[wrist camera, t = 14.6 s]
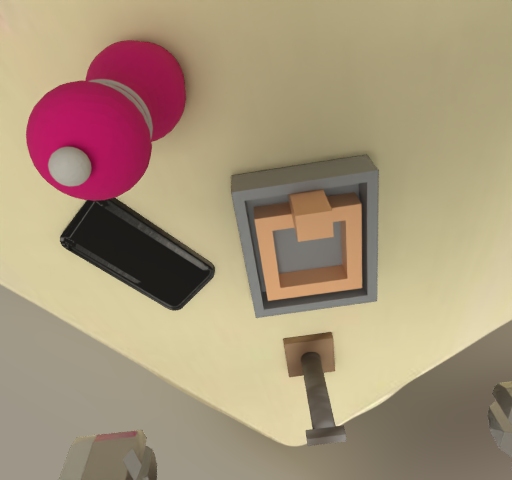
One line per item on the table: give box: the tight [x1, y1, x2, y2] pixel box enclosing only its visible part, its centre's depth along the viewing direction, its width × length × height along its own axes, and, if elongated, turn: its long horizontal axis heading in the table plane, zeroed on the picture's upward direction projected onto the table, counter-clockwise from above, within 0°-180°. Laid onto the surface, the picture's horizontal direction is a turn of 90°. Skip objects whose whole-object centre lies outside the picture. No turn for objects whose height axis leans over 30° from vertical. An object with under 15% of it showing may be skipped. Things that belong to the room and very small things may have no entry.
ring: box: [254, 189, 362, 301], centre depth 39 cm, size 10×12×7 cm
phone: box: [60, 198, 215, 310], centre depth 44 cm, size 8×1×15 cm
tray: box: [231, 155, 379, 318], centre depth 42 cm, size 13×15×4 cm
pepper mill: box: [26, 41, 186, 201], centre depth 26 cm, size 7×7×20 cm
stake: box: [283, 332, 346, 446], centre depth 48 cm, size 6×6×12 cm
